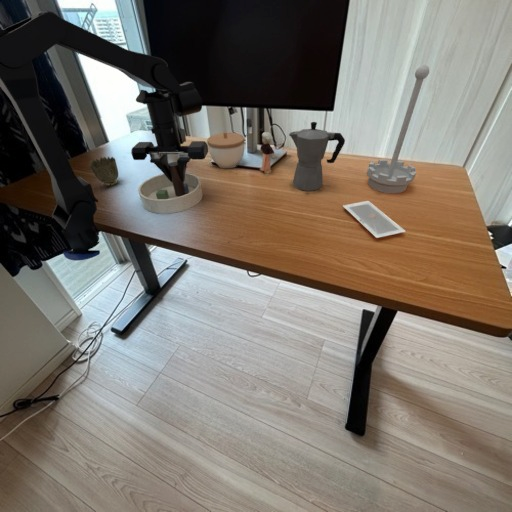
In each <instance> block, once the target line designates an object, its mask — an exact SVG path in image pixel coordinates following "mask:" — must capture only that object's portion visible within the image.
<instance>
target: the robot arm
mask: <svg viewBox="0 0 512 512" xmlns="http://www.w3.org/2000/svg"><path fill="white" fill-rule="evenodd" d="M55 45H57V46H59V47H62V48H65V49H67V50H69V51H72V52H74V53H77V54H80V55H82V56H84V57H87V58H89V59H91V60H94V61H96V62H99V63H100V64H104V65H106V66H109V67H111V68H113V69H116V70H118V71H120V72H121V73H122V74H124V75H125V76H126V77H128V78H129V79H131V80H132V81H134V82H136V83H137V84H139V85H140V86H142V87H145V88H149V89H155V90H156V91H149V92H148V90H145V89H140V90H139V94H138V95H137V96H136V98H135V101H136V102H137V103H140V104H143V105H146V107H147V111H148V116H149V119H150V122H151V127H152V128H150V131H151V134H153V135H154V136H155V141H156V145H154V143H153V142H152V141H139V142H137V143H136V144H135V145H134V146H132V148H131V151H130V154H131V157H132V159H133V160H134V161H145V160H146V158H147V157H148V155H149V158H150V160H149V163H150V164H154V165H155V166H156V167H157V168H158V169H159V170H160V171H161V172H162V174H165V176H166V177H167V178H168V179H169V180H170V182H172V179H171V175H170V171H169V167H168V164H169V163H168V156H167V154H179V156H180V157H179V159H178V160H177V164H178V168H179V172H180V177H181V180H182V182H184V181H185V173H187V166H188V163H189V162H190V161H191V160H192V161H193V160H194V161H195V160H205V159H206V157H207V156H208V154H209V147H208V143H207V141H205V140H198V141H197V140H192V141H191V142H190V143H189V145H183V144H184V143H186V142H187V138H186V137H187V136H186V129H185V128H180V127H179V126H180V125H179V123H178V121H177V120H176V116H177V117H180V118H181V117H185V116H190V115H193V114H197V113H200V112H201V111H202V109H203V99H202V98H201V95H200V93H199V91H198V90H197V89H196V88H195V83H194V82H192V81H185V82H183V83H179V82H178V81H177V79H176V78H175V77H174V76H173V74H172V73H171V71H170V68H169V66H168V63H167V62H166V60H164V59H162V58H161V57H158V56H154V55H151V54H147V53H141V52H137V51H133V50H130V49H127V48H124V47H123V46H121V45H118V44H116V43H114V42H112V41H110V40H108V39H106V38H103V37H101V36H99V35H97V34H96V33H94V32H91V31H89V30H87V29H85V28H83V27H81V26H79V25H76V24H74V23H72V22H70V21H68V20H67V19H64V18H62V17H61V16H60V15H58V14H57V13H55V12H53V11H50V10H39V11H35V12H34V13H33V14H32V15H31V16H29V17H27V18H25V19H23V20H21V21H19V22H16V23H15V24H12V25H10V26H7V27H6V28H3V29H0V88H1V90H2V91H3V92H4V93H5V95H6V96H7V97H8V98H9V100H10V101H11V104H12V105H13V107H14V109H15V112H16V113H17V115H18V117H19V119H20V121H21V122H22V125H23V127H24V128H25V131H26V132H27V134H28V136H29V138H30V139H31V142H32V144H33V145H34V147H35V149H36V152H37V153H38V155H39V157H40V159H41V161H42V163H43V165H44V167H45V169H46V171H47V172H48V174H49V176H50V180H51V187H52V192H53V196H54V199H55V202H56V204H55V207H54V208H53V211H52V214H51V217H52V218H53V219H54V220H55V221H56V222H57V223H58V225H60V227H61V229H62V230H61V234H62V235H63V237H64V238H65V240H66V241H67V243H68V245H69V246H70V248H71V249H67V250H68V251H67V252H68V253H73V254H94V253H95V252H96V251H97V250H98V249H97V250H96V249H95V250H94V248H95V247H97V245H99V244H100V237H99V235H100V231H99V230H98V228H97V225H96V224H95V222H94V221H95V219H94V215H95V214H96V212H98V211H97V210H98V206H97V203H98V202H99V200H98V198H96V196H95V195H94V192H93V187H92V184H91V183H89V182H88V181H86V180H85V179H84V178H82V177H81V176H78V177H77V175H76V174H75V172H74V170H73V168H72V166H71V164H70V161H69V159H68V157H67V155H66V152H65V150H64V148H63V146H62V144H61V141H60V139H59V138H58V135H57V133H56V131H55V129H54V127H53V124H52V122H51V119H50V118H49V116H48V113H47V111H46V109H45V107H44V104H43V101H41V98H40V92H39V91H40V90H39V84H38V78H37V74H36V70H35V67H34V63H33V60H35V59H36V58H38V57H40V56H42V55H44V53H46V52H47V51H49V50H50V49H51V48H53V47H54V46H55ZM161 91H163V92H167V93H163V92H161Z"/></svg>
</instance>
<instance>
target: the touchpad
mask: <svg viewBox="0 0 512 512" xmlns="http://www.w3.org/2000/svg"><path fill="white" fill-rule="evenodd" d="M342 207H343V208H344V209H345V210H346V211H347V212H348V213H349V214H351V216H353V217H354V219H356V220H357V221H358V222H359V223H360V224H361V225H362V226H363V227H364V228H365V229H366V230H367V231H368V232H370V233H371V234H372V235H373V236H374V237H375V238H376V239H378V238H384V237H389V236H392V235H397V234H402V233H406V232H407V231H406V230H405V229H404V228H403V227H402V226H401V225H399V224H398V223H396V222H395V221H394V220H393V219H391V218H390V217H389V216H388V215H386V214H385V213H384V212H383V211H382V210H380V208H379V207H377V206H376V205H374V204H373V203H372V202H371V201H369V200H365V201H364V200H363V201H359V202H354V203H348V204H343V205H342Z"/></svg>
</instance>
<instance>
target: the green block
mask: <svg viewBox="0 0 512 512" xmlns="http://www.w3.org/2000/svg"><path fill="white" fill-rule="evenodd" d="M156 196H157V199H168V198H169V195H168V192H167V190H158V191H157V193H156Z"/></svg>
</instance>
